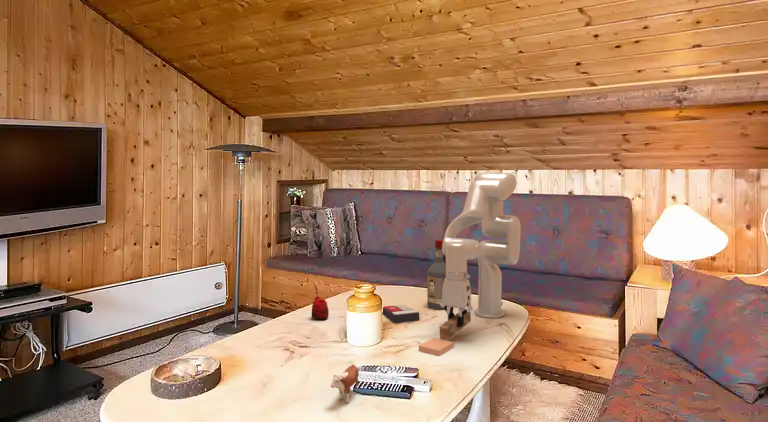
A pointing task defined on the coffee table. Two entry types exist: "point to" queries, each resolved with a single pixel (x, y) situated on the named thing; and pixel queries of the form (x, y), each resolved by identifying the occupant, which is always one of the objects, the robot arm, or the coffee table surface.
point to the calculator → (400, 313)
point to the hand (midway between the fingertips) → (455, 325)
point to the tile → (436, 346)
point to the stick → (453, 326)
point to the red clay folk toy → (319, 308)
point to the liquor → (436, 278)
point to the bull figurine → (346, 381)
